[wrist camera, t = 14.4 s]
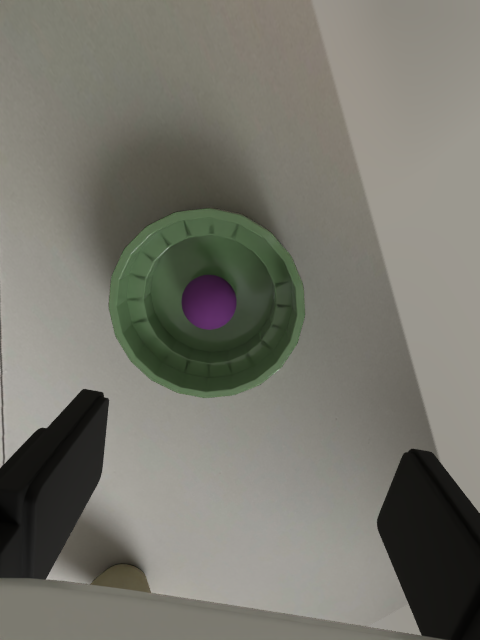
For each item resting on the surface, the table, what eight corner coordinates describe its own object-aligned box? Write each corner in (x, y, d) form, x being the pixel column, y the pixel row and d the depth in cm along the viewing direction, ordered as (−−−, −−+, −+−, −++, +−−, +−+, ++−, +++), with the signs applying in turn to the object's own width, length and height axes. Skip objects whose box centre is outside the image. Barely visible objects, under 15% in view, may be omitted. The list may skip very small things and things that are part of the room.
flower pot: (184, 574, 41) (173, 647, 34) (136, 620, 44) (117, 696, 37) (112, 532, 39) (85, 601, 32) (66, 583, 42) (32, 656, 35)
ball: (242, 276, 30) (240, 286, 25) (232, 325, 31) (228, 342, 27) (191, 265, 30) (180, 274, 25) (183, 314, 31) (171, 330, 27)
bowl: (312, 228, 29) (328, 233, 24) (273, 379, 33) (278, 411, 28) (141, 192, 28) (119, 188, 23) (123, 351, 33) (101, 379, 27)
